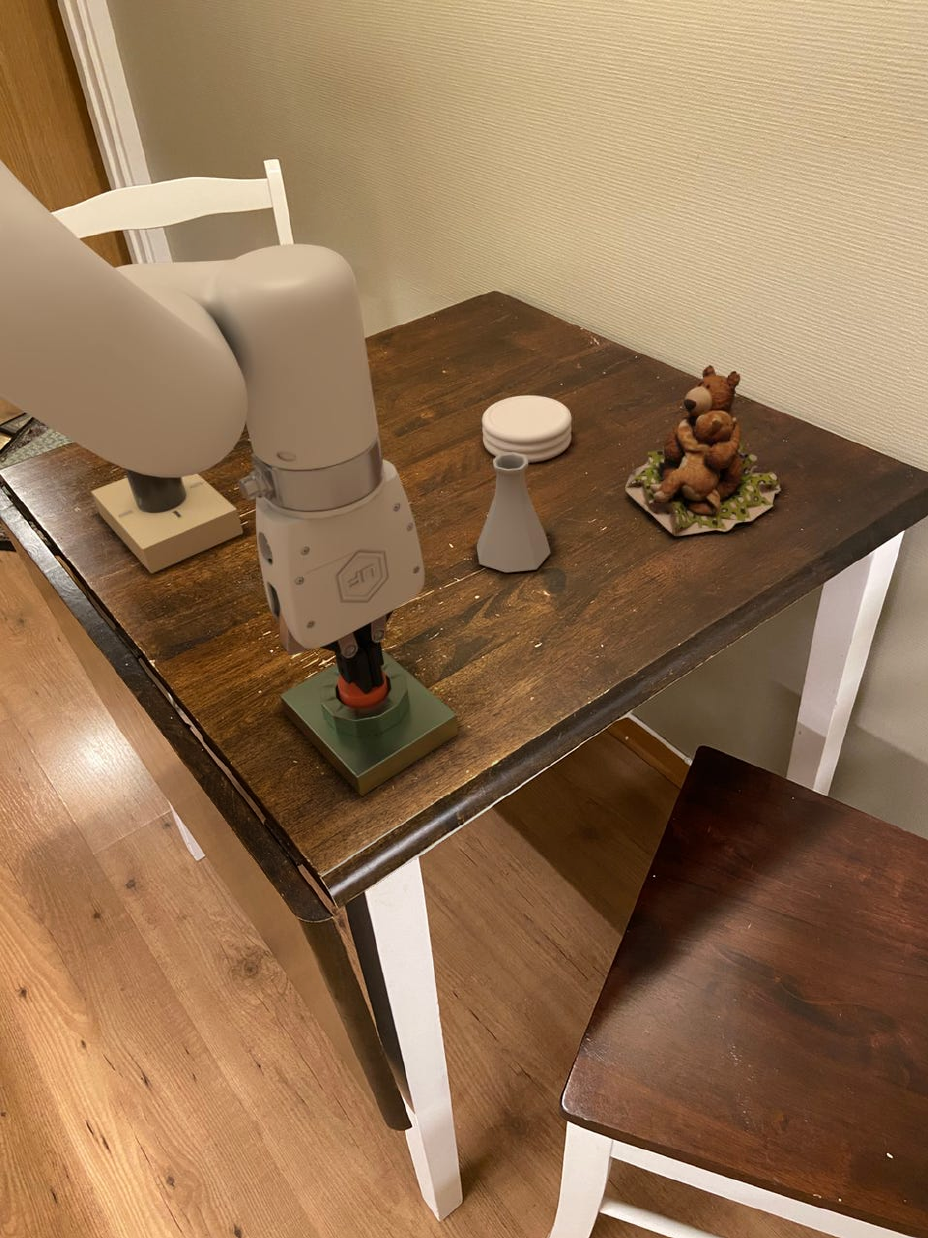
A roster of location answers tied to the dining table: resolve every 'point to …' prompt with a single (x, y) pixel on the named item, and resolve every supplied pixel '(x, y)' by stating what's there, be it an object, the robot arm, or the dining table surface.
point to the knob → (156, 491)
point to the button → (361, 694)
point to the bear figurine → (704, 467)
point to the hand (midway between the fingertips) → (363, 679)
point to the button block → (370, 725)
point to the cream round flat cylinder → (527, 427)
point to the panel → (169, 522)
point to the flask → (512, 521)
